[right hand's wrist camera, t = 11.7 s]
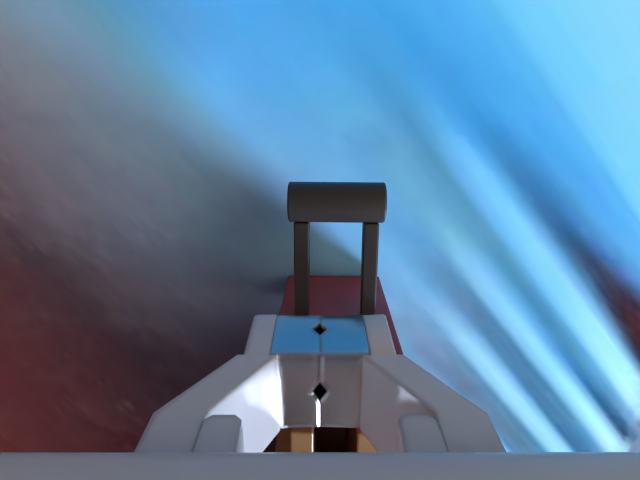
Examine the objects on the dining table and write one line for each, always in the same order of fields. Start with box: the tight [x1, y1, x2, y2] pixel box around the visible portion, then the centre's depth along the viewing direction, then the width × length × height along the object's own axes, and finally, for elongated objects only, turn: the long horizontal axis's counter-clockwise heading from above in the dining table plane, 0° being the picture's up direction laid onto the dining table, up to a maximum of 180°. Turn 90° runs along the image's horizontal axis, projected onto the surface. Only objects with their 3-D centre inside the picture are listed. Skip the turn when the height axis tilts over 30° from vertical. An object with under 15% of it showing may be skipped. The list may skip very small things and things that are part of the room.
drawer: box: [279, 182, 403, 452], centre depth 20 cm, size 22×5×9 cm, turn 0°
